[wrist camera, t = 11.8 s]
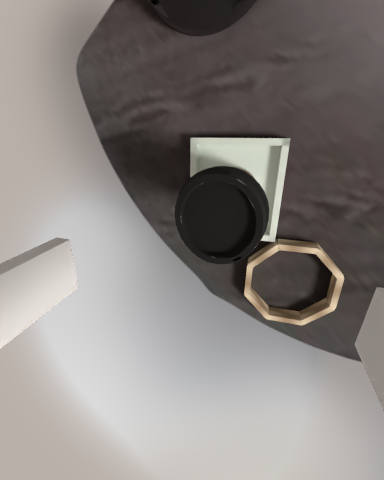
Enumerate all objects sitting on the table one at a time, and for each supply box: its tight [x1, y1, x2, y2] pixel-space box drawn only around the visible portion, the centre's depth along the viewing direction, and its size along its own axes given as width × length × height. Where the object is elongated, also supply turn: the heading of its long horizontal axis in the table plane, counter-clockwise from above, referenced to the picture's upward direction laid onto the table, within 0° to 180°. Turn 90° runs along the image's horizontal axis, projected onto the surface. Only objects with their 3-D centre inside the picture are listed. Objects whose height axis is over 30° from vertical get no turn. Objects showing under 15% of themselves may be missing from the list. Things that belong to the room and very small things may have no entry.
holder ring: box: [244, 239, 344, 325], centre depth 35 cm, size 13×13×2 cm
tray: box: [190, 138, 290, 242], centre depth 33 cm, size 13×12×2 cm
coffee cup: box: [175, 166, 269, 264], centre depth 26 cm, size 8×8×15 cm
